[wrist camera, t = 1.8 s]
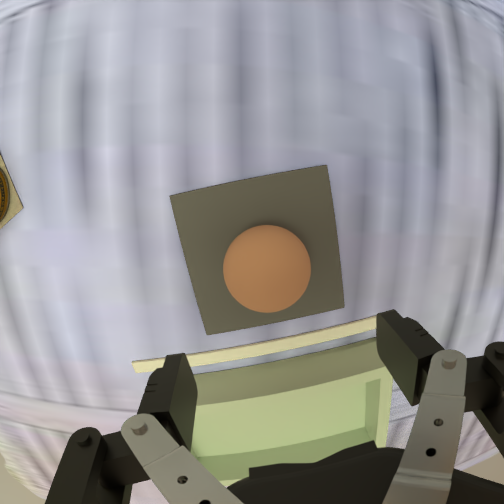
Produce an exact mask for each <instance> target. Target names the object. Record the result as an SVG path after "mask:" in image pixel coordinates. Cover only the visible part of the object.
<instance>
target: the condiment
mask: <svg viewBox="0 0 504 504" xmlns="http://www.w3.org/2000/svg"><path fill="white" fill-rule="evenodd" d="M22 208H23V207H22V204H21V202H20V200H19V198H18V195H17V193H16V191H15V188H14V185H13V183H12V181H11V178H10V176H9V174H8V172H7V169H6V167H5V164H4V162H3V160H2V157H1V156H0V229H1V228H2V227H3V226H4V225H5V224H6V223H7V222H8V221H9V220H10V219H12V218H13V217H14V216H15V215H16V214H17V213H18V212H19V211H20V210H21V209H22Z"/></svg>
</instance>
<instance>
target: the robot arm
mask: <svg viewBox="0 0 504 504" xmlns="http://www.w3.org/2000/svg"><path fill="white" fill-rule="evenodd" d="M376 346H377V352H378V355H379V357H380V359H381V360H382V362H383V363H384V365H385V366H386V368H387V369H388V371H389V372H390V374H391V375H392V377H393V378H394V380H395V382H396V383H397V385H398V386H399V388H400V389H401V391H402V392H403V394H404V395H405V397H406V398H407V400H408V402H409V403H410V405H411V406H415V405H417V404H419V407H418V410H417V414H416V417H415V420H414V424H413V427H412V430H411V433H410V436H409V439H408V442H407V445H406V448H405V449H400V448H393V447H380V448H377V446H376V444H375V441H374V440H372V441H369V442H366V443H362V444H359V445H356V446H352V447H348V448H345V449H343V450H341V451H339V452H336V453H334V454H332V455H330V456H328V457H326V458H324V459H322V460H319V461H317V462H314V463H277V464H271V465H265V466H258V467H251V468H249V477H246V478H243V479H241V480H239V481H237V482H235V483H233V484H231V485H230V486H228V487H227V488H226V487H225V486H224V485H222V484H221V483H220V482H219V481H218V480H217V479H216V478H215V477H214V476H213V475H212V474H211V473H210V472H209V471H208V470H207V469H206V468H205V467H204V466H203V465H202V464H201V463H200V462H199V461H198V460H197V459H196V458H195V457H194V456H193V455H192V454H191V445H192V437H193V429H194V420H195V412H196V405H197V397H198V390H197V384H196V381H195V378H194V376H193V373H192V370H191V367H190V365H189V362H188V359H187V356H186V355H185V353H180V354H173V355H167V356H166V358H165V361H164V364H163V368H157V369H156V370H155V371H154V372H153V373H152V374H151V375H150V377H149V380H148V383H147V386H146V388H145V393H144V394H143V397H142V400H141V403H140V406H139V409H138V412H137V415H134V416H132V417H130V418H129V419H127V420H126V421H125V422H124V423H123V425H122V427H121V431H119V432H115V433H111V434H107V435H103V436H102V435H101V433H100V432H99V431H98V430H97V429H96V428H92V427H86V428H82V429H79V430H77V431H76V432H75V433H73V434H72V436H71V437H70V439H69V441H68V443H67V446H66V448H65V451H64V453H63V456H62V458H61V461H60V463H59V466H58V469H57V471H56V474H55V477H54V479H53V482H52V485H51V488H50V490H49V493H48V496H47V499H46V502H45V504H129V503H130V497H131V491H132V485H133V484H134V483H138V482H142V481H146V480H150V479H151V480H152V481H153V483H154V484H155V485H156V487H157V488H158V490H159V491H160V492H161V493H162V495H163V496H164V497H165V499H166V500H167V501H168V503H169V504H504V485H502V484H499V483H496V482H493V481H490V480H486V479H483V478H480V477H477V476H474V475H471V474H468V473H465V472H463V471H460V470H457V469H454V464H455V460H456V455H457V450H458V445H459V440H460V434H461V429H462V422H463V415H464V412H470V411H473V412H474V414H475V415H476V417H477V418H478V420H479V421H480V422H481V424H482V425H483V427H484V428H485V430H486V431H487V433H488V434H489V436H490V437H491V439H492V440H493V442H494V443H495V445H496V447H497V448H498V450H499V451H500V453H501V454H502V456H503V457H504V342H493V343H491V344H489V345H488V346H487V347H486V348H485V352H484V356H478V357H472V358H466V357H465V355H464V354H463V353H461V352H459V351H457V350H452V349H446V350H445V349H444V348H443V347H442V346H441V345H440V344H439V343H438V342H437V341H436V340H435V339H434V338H433V337H432V336H431V335H430V334H428V332H427V331H426V330H425V329H423V327H422V326H421V325H420V324H419V323H418V322H417V321H415V320H413V319H411V318H408V317H406V318H403V317H402V316H401V315H400V314H399V313H398V312H397V311H396V310H394V309H393V310H389V311H385V312H382V313H378V314H377V316H376Z"/></svg>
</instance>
